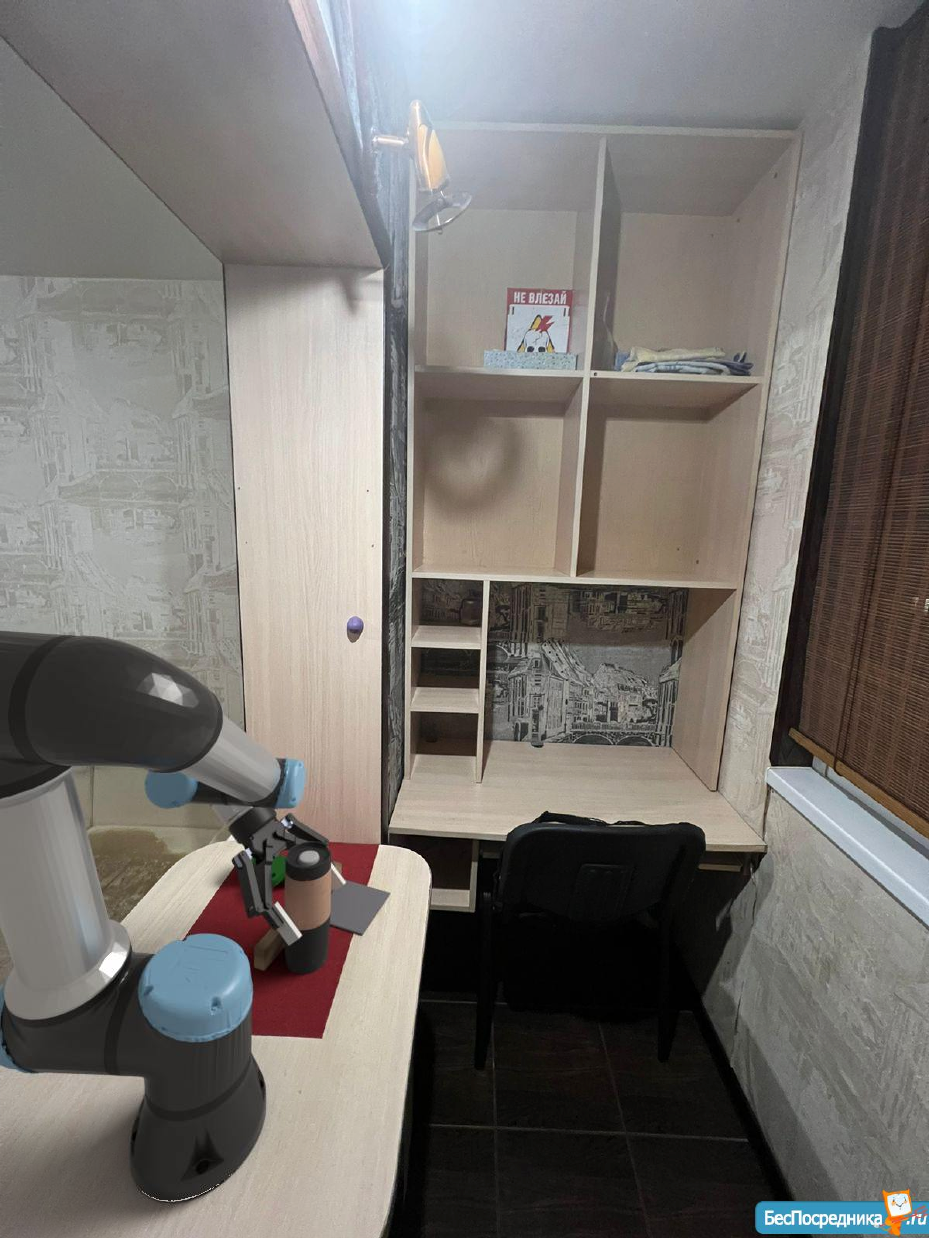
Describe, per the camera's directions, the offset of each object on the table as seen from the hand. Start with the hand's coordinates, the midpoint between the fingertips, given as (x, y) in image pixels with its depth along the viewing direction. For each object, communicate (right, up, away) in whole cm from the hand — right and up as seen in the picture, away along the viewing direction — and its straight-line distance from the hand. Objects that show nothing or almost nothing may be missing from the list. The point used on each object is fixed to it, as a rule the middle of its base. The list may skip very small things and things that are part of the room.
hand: (319, 911), depth 89 cm
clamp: (-17, -6, +20) cm, 27 cm away
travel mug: (-3, -9, +2) cm, 10 cm away
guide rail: (-6, -8, +11) cm, 15 cm away
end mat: (+2, -7, +15) cm, 17 cm away
